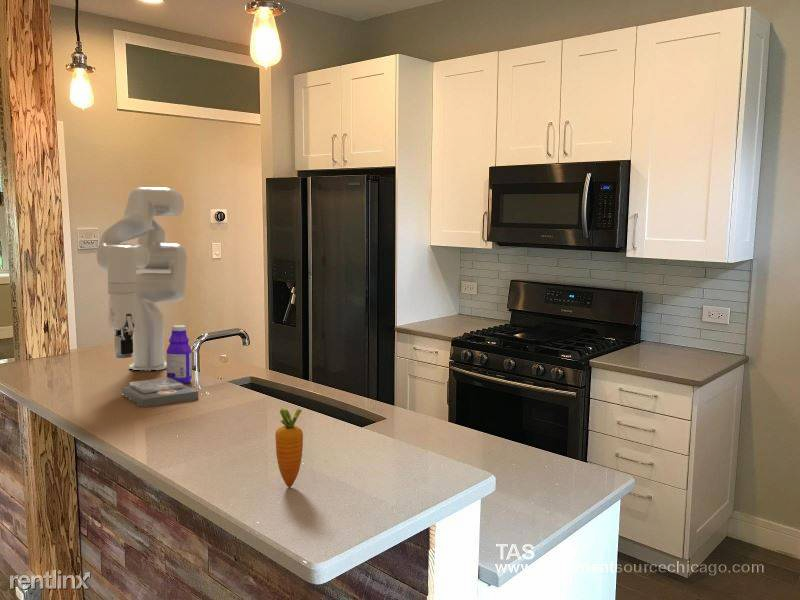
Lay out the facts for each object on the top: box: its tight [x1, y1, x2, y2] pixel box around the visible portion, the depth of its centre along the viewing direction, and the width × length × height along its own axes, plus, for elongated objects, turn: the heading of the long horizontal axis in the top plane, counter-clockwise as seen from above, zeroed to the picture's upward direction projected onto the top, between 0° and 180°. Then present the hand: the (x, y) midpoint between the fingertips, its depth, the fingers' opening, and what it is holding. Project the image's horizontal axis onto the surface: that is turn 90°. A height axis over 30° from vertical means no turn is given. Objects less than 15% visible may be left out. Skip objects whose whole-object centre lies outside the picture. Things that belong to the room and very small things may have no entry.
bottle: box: [166, 324, 193, 385], centre depth 202 cm, size 7×6×17 cm
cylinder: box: [114, 335, 133, 359], centre depth 191 cm, size 4×4×6 cm
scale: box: [121, 380, 199, 409], centre depth 186 cm, size 17×15×3 cm
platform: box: [129, 376, 183, 394], centre depth 187 cm, size 11×11×1 cm
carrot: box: [275, 407, 304, 488], centre depth 122 cm, size 5×5×15 cm
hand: (124, 351), depth 191 cm, fingers closed on cylinder, 4 cm apart
